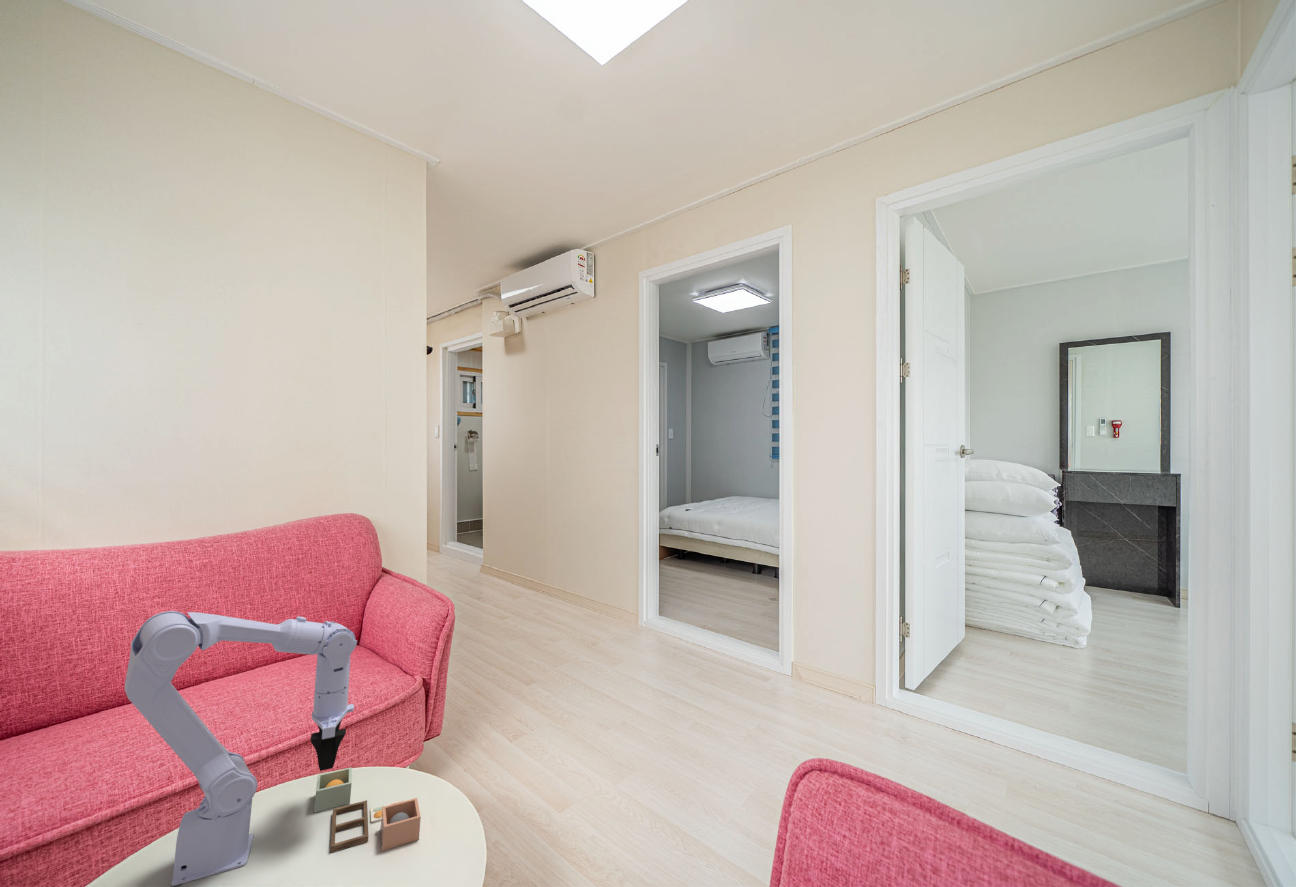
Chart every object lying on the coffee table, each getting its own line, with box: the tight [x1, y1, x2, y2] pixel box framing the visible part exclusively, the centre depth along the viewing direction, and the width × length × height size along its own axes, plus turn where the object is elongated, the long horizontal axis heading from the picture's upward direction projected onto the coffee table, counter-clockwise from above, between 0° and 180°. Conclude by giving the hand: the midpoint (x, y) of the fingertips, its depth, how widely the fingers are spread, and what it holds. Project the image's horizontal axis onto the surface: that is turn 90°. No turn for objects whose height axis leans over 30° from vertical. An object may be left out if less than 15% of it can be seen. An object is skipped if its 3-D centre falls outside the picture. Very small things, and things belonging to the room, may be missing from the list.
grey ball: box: [389, 812, 409, 824], centre depth 92 cm, size 4×4×4 cm
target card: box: [369, 799, 405, 824], centre depth 98 cm, size 6×4×1 cm, turn 121°
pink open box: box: [380, 797, 422, 852], centre depth 92 cm, size 6×6×4 cm
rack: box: [329, 799, 370, 854], centre depth 93 cm, size 6×11×1 cm, turn 31°
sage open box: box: [313, 766, 353, 814], centre depth 101 cm, size 6×6×4 cm
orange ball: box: [325, 779, 344, 788], centre depth 101 cm, size 4×4×4 cm
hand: (327, 758), depth 97 cm, fingers open, 7 cm apart
